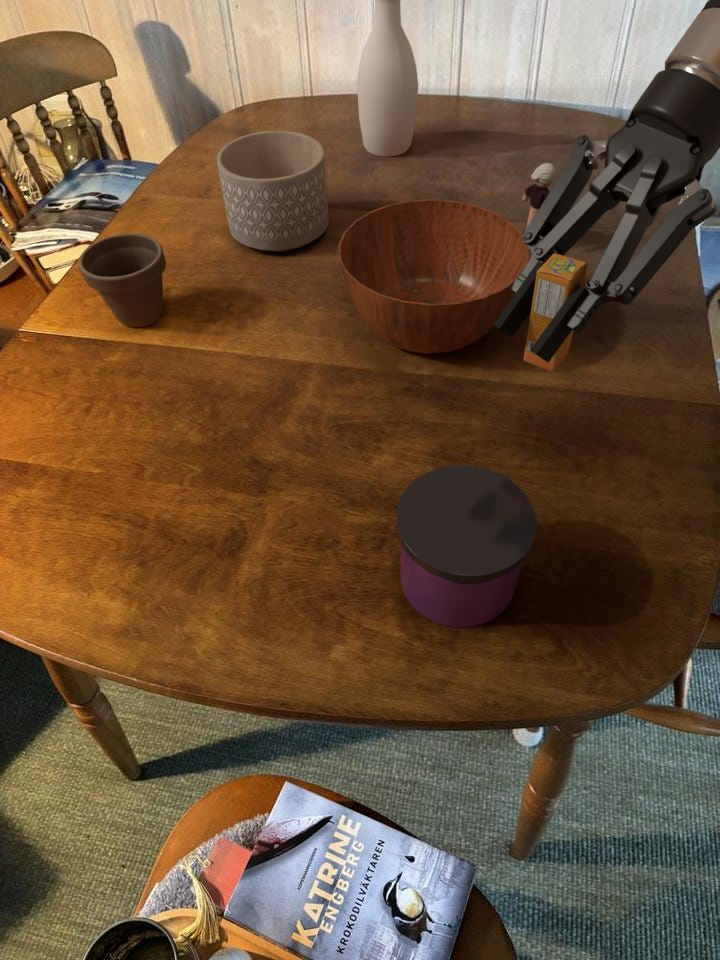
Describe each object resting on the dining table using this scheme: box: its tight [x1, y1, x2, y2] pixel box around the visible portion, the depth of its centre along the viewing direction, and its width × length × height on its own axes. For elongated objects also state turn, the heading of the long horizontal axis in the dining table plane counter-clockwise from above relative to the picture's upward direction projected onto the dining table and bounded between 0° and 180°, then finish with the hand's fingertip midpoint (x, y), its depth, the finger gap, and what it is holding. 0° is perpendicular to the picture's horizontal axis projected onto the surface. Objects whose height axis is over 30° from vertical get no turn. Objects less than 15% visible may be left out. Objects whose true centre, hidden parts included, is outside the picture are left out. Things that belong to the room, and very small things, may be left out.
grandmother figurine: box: [522, 162, 556, 228], centre depth 110 cm, size 8×4×13 cm, turn 34°
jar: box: [395, 464, 538, 628], centre depth 71 cm, size 13×13×10 cm
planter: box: [216, 130, 329, 252], centre depth 115 cm, size 16×16×13 cm
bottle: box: [356, 0, 419, 158], centre depth 128 cm, size 11×11×25 cm
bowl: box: [337, 198, 530, 355], centre depth 99 cm, size 25×25×11 cm
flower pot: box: [78, 232, 167, 328], centre depth 101 cm, size 12×11×10 cm
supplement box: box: [523, 253, 588, 373], centre depth 64 cm, size 3×3×10 cm
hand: (520, 343), depth 63 cm, fingers closed on supplement box, 4 cm apart
